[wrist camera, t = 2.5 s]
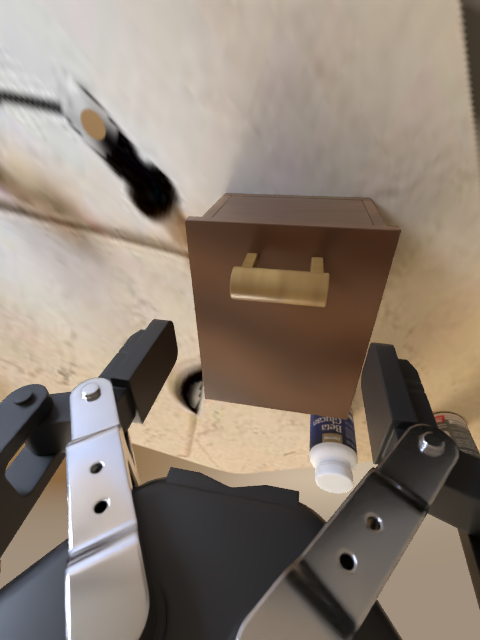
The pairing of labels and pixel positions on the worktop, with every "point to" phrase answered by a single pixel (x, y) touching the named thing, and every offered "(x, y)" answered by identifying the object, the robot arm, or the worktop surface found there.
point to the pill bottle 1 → (333, 452)
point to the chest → (296, 209)
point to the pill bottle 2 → (457, 432)
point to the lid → (286, 308)
